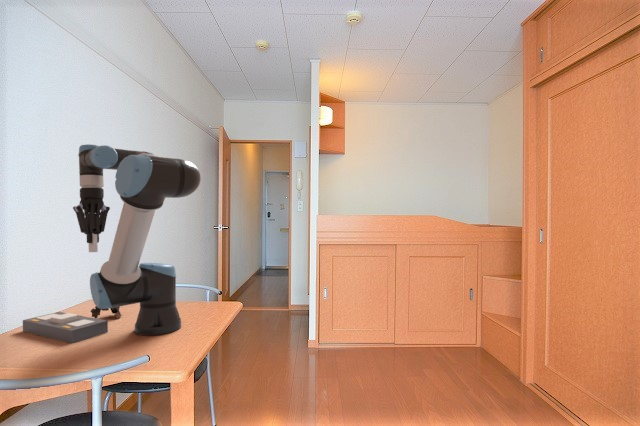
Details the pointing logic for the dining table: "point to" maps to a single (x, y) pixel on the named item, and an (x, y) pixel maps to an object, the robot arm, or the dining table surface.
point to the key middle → (64, 318)
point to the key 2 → (80, 323)
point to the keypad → (65, 329)
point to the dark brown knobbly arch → (114, 310)
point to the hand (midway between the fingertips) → (93, 251)
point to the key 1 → (46, 317)
